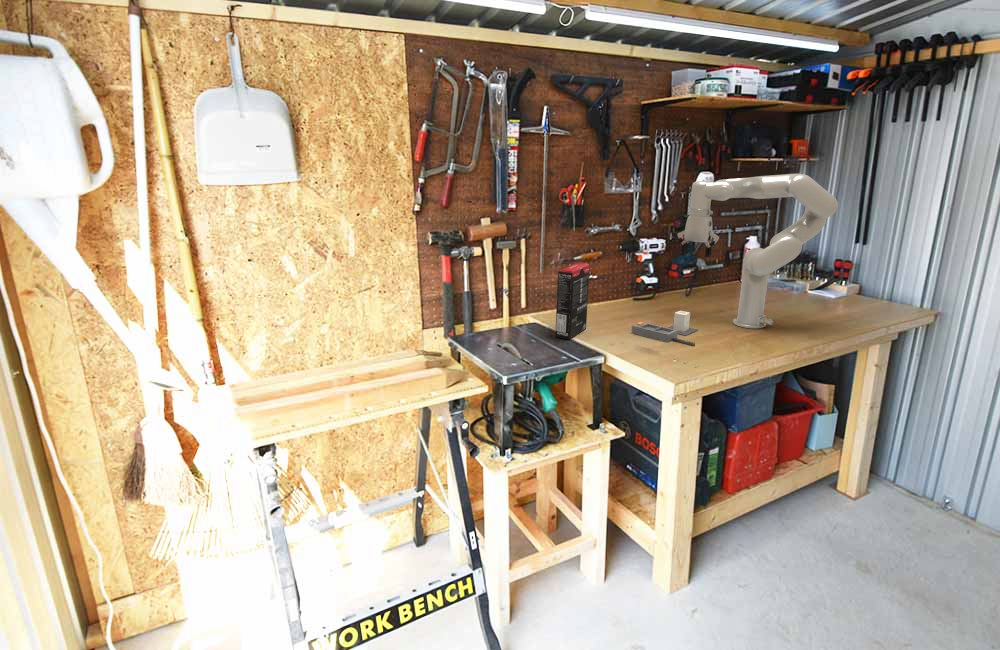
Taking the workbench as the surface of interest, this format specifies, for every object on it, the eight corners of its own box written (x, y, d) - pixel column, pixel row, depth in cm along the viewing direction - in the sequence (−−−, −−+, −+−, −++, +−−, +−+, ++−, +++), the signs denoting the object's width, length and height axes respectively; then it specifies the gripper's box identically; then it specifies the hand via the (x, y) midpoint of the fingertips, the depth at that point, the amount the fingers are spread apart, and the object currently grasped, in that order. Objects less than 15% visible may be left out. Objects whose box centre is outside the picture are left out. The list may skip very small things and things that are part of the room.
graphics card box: (572, 326, 227) (574, 261, 219) (588, 328, 224) (590, 263, 215) (554, 338, 213) (555, 269, 205) (571, 341, 210) (573, 271, 201)
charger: (688, 329, 219) (690, 311, 217) (683, 331, 217) (684, 314, 214) (678, 327, 222) (680, 309, 220) (673, 329, 220) (674, 312, 217)
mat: (698, 330, 219) (698, 329, 219) (685, 336, 213) (685, 335, 213) (675, 325, 226) (675, 324, 226) (662, 330, 220) (662, 329, 220)
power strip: (699, 343, 204) (700, 334, 203) (690, 348, 200) (691, 338, 198) (641, 329, 222) (642, 320, 221) (631, 333, 217) (632, 324, 216)
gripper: (725, 213, 215) (720, 256, 220) (684, 211, 226) (681, 252, 232) (716, 215, 210) (712, 259, 215) (675, 212, 221) (672, 254, 227)
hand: (696, 255), depth 223 cm, fingers open, 9 cm apart
